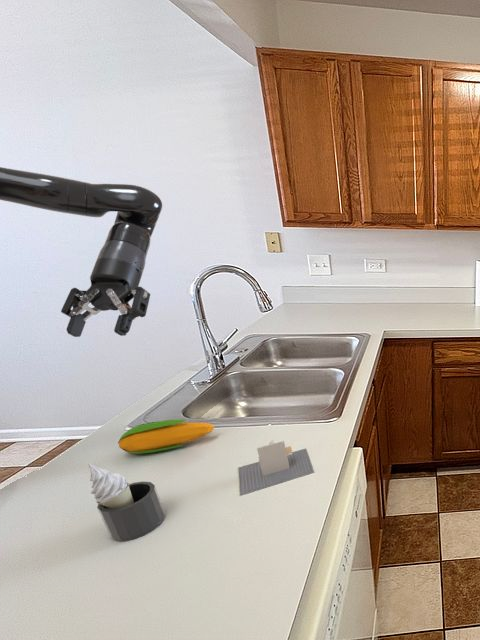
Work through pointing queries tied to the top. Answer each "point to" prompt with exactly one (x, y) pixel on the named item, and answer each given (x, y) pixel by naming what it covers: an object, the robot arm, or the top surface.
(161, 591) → the top surface
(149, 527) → the cone holder
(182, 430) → the corn
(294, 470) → the architectural model
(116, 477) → the ice cream cone
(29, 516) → the top surface
